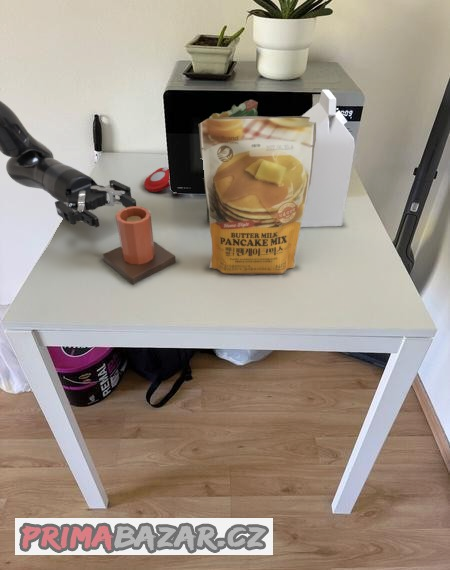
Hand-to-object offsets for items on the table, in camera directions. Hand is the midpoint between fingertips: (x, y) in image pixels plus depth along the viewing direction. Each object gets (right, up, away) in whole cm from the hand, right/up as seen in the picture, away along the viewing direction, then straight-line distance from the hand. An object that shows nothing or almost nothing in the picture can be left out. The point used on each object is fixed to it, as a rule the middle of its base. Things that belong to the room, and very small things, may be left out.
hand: (116, 214), depth 84 cm
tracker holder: (+6, +10, +26) cm, 29 cm away
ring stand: (+4, -9, +3) cm, 10 cm away
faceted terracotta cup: (+4, -8, +2) cm, 9 cm away
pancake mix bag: (+26, -10, +2) cm, 27 cm away
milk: (+40, +3, +18) cm, 44 cm away
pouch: (+22, +1, +16) cm, 27 cm away
